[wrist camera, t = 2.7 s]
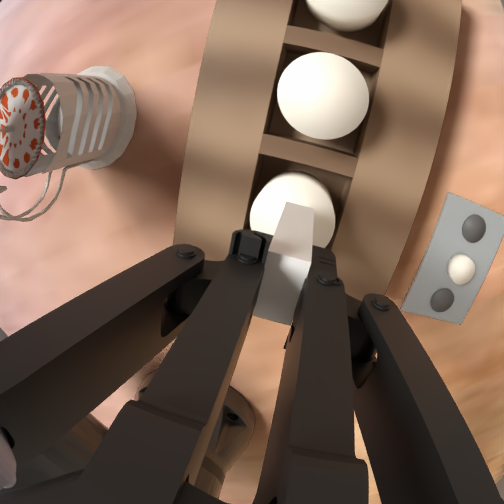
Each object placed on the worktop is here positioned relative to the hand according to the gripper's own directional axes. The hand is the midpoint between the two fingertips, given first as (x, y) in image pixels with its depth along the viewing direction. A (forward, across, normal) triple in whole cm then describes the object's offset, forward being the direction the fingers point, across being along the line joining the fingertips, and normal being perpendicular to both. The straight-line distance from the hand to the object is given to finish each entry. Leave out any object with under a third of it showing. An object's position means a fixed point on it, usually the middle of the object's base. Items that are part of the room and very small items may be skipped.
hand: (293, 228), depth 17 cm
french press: (+8, +19, -2) cm, 21 cm away
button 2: (+5, 0, -7) cm, 9 cm away
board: (+8, 0, -7) cm, 11 cm away
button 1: (+5, 0, 0) cm, 5 cm away
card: (+8, -15, +2) cm, 17 cm away
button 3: (+5, 0, -15) cm, 16 cm away
